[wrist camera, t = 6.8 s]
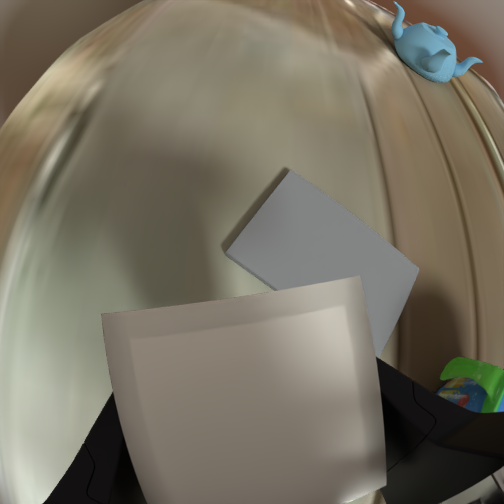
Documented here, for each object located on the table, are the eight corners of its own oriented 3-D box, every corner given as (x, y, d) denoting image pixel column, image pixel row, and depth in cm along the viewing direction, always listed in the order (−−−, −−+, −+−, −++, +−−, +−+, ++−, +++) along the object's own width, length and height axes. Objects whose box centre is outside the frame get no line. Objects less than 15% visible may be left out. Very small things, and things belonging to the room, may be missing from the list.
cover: (291, 410, 15) (386, 484, 5) (187, 429, 14) (162, 536, 4) (273, 311, 16) (360, 275, 7) (167, 327, 15) (100, 313, 6)
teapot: (418, 46, 43) (437, 16, 33) (461, 95, 39) (487, 64, 30) (373, 37, 39) (393, -1, 30) (422, 90, 36) (452, 51, 26)
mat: (414, 270, 26) (419, 268, 25) (373, 359, 23) (377, 359, 22) (288, 173, 27) (290, 169, 26) (225, 255, 24) (225, 252, 23)
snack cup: (389, 394, 22) (467, 409, 13) (451, 326, 25) (524, 314, 15) (434, 479, 20) (492, 503, 10) (485, 417, 22) (544, 423, 13)
